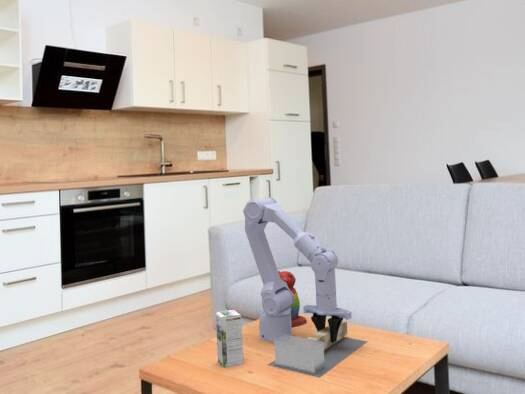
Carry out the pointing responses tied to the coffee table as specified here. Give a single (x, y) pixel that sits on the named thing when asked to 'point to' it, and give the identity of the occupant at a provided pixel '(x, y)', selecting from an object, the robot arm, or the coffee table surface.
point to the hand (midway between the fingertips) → (328, 340)
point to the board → (332, 355)
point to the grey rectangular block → (299, 353)
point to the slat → (325, 334)
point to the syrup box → (229, 338)
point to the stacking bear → (290, 281)
